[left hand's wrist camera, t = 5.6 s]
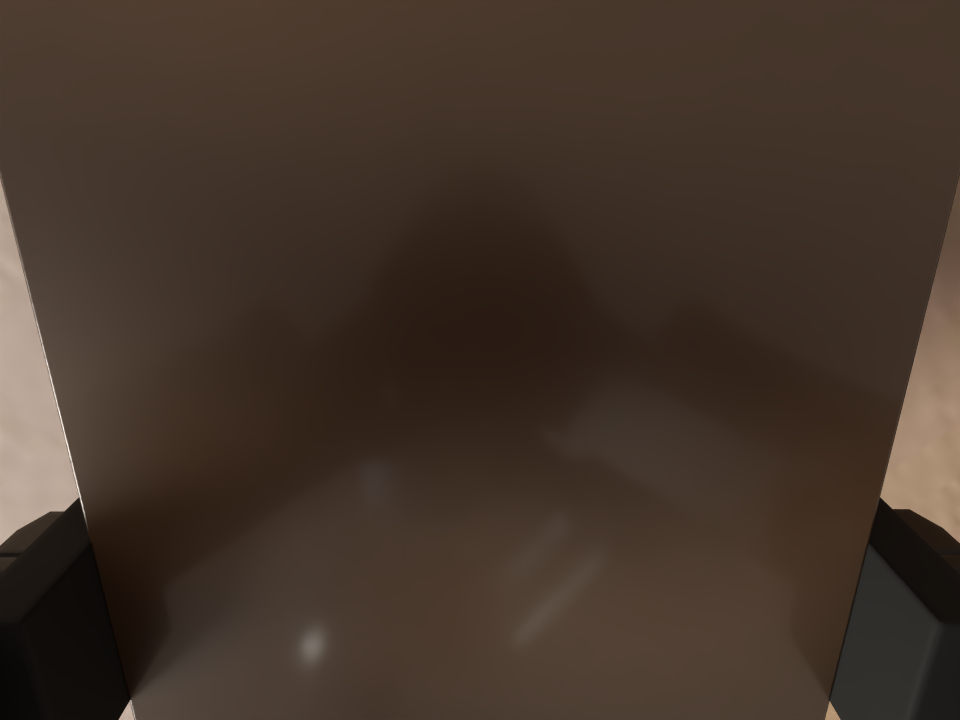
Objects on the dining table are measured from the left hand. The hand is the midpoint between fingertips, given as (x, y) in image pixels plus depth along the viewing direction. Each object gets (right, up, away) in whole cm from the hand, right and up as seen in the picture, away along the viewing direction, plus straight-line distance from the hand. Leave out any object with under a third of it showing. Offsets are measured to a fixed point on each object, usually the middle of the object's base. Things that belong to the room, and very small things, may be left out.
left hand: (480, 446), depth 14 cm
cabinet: (0, +6, +3) cm, 7 cm away
